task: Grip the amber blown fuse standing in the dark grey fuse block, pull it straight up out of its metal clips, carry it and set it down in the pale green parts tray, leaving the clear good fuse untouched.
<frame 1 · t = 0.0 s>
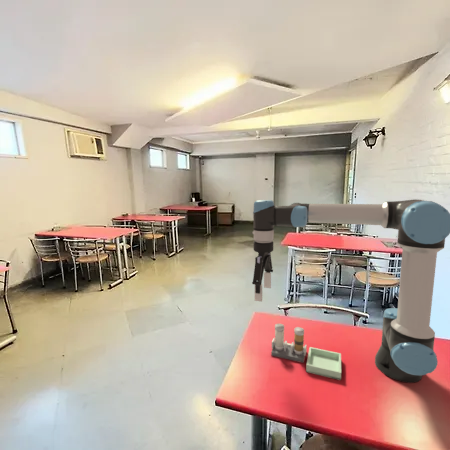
hand: (263, 293, 104), 28 cm above the table, fingers open, 13 cm apart
good fuse: (279, 347, 113), point 1 cm above the table, touching fuse block
parts tray: (323, 365, 103), on the table
fuse block: (288, 353, 111), on the table
blown fuse: (298, 352, 110), point 1 cm above the table, touching fuse block
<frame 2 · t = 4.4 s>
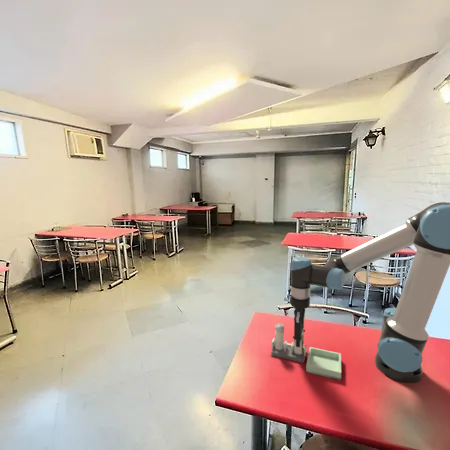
hand: (298, 349, 110), 3 cm above the table, fingers closed on blown fuse, 4 cm apart
blown fuse: (298, 352, 110), point 1 cm above the table, touching fuse block, gripper
everything else where it was.
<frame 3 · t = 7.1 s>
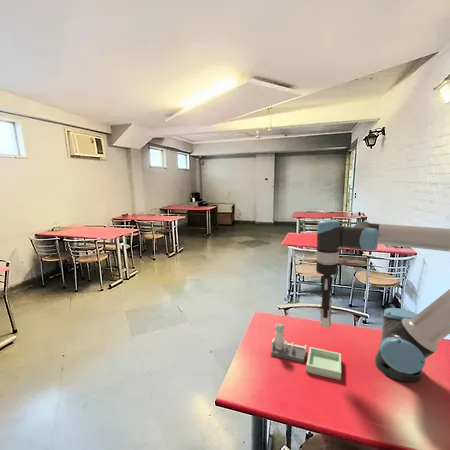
hand: (325, 321, 101), 18 cm above the table, fingers closed on blown fuse, 4 cm apart
blown fuse: (325, 324, 101), point 17 cm above the table, touching gripper
everything else where it was.
when the fingers open (3 cm above the table, at t = 9.7 s): blown fuse drops 1 cm, resting on parts tray.
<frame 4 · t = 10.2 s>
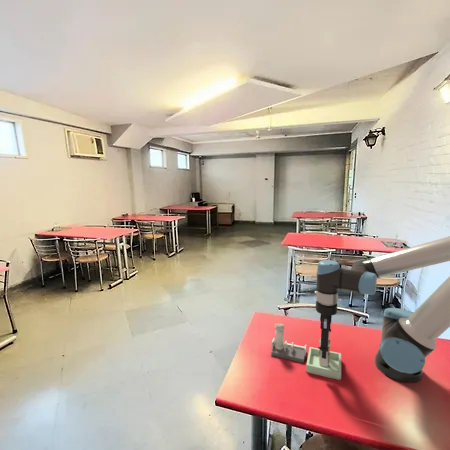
hand: (324, 355, 103), 4 cm above the table, fingers open, 11 cm apart
blown fuse: (323, 364, 103), point 1 cm above the table, touching parts tray
everything else where it was.
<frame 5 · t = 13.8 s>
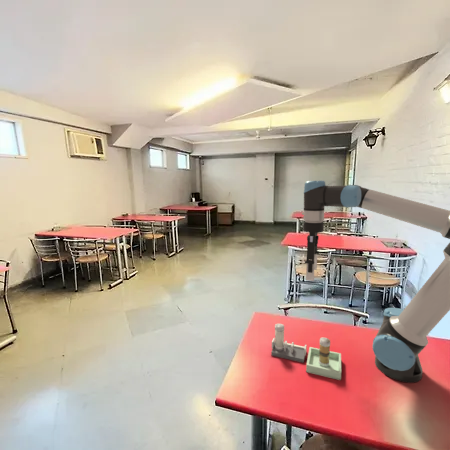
hand: (311, 274, 105), 35 cm above the table, fingers open, 13 cm apart
nothing on the table moved.
at the end: blown fuse inside the target area on the parts tray (0.0 cm from its centre), point 0.8 cm above the parts tray's base; the gripper is holding nothing; good fuse moved 0.0 cm from its start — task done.
